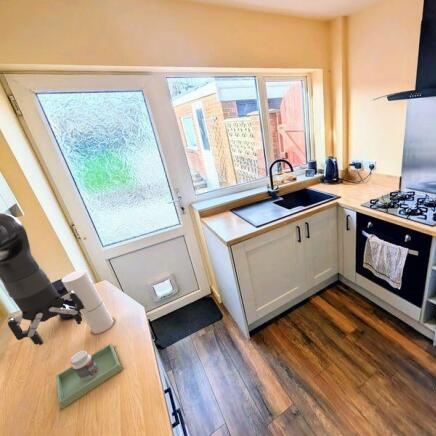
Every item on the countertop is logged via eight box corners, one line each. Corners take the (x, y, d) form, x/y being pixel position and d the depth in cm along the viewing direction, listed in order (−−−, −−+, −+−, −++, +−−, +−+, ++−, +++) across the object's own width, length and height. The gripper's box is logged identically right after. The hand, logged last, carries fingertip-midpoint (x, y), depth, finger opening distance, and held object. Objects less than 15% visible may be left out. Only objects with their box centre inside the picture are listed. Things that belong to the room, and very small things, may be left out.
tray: (62, 408, 70) (58, 403, 69) (59, 380, 79) (55, 375, 78) (122, 369, 80) (119, 364, 79) (113, 348, 88) (110, 343, 87)
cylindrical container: (99, 320, 101) (70, 271, 91) (117, 317, 102) (90, 268, 92) (88, 335, 95) (56, 283, 85) (107, 332, 95) (77, 280, 85)
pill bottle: (96, 377, 78) (85, 359, 74) (79, 384, 76) (66, 366, 73) (100, 364, 82) (90, 347, 78) (84, 370, 80) (72, 353, 77)
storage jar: (87, 300, 114) (72, 274, 108) (90, 310, 108) (74, 283, 101) (60, 312, 109) (43, 285, 102) (61, 324, 102) (42, 296, 96)
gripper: (63, 269, 71) (88, 311, 78) (-9, 297, 62) (26, 342, 68) (67, 278, 66) (93, 322, 73) (-10, 311, 57) (28, 358, 64)
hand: (61, 332), depth 71 cm, fingers open, 8 cm apart
